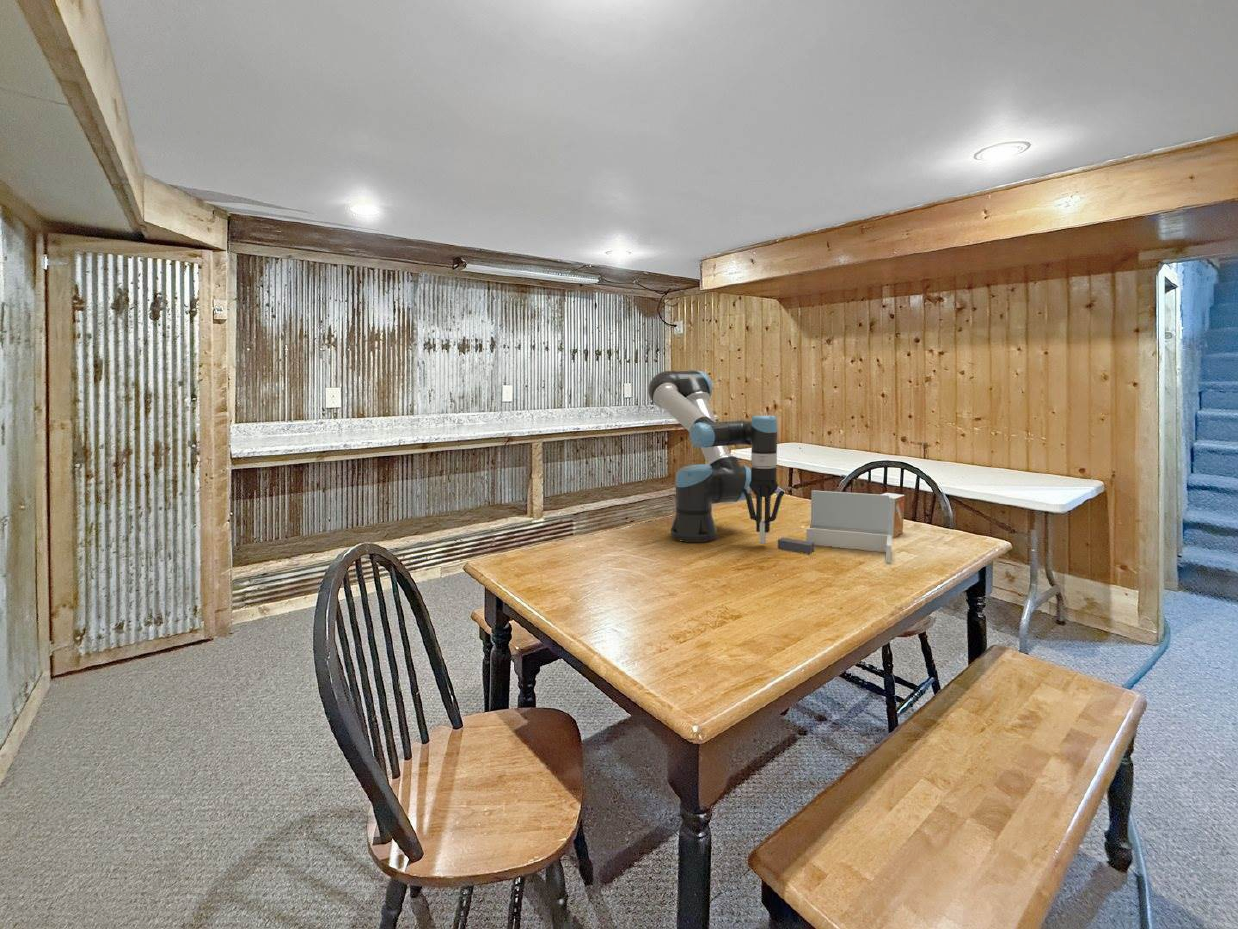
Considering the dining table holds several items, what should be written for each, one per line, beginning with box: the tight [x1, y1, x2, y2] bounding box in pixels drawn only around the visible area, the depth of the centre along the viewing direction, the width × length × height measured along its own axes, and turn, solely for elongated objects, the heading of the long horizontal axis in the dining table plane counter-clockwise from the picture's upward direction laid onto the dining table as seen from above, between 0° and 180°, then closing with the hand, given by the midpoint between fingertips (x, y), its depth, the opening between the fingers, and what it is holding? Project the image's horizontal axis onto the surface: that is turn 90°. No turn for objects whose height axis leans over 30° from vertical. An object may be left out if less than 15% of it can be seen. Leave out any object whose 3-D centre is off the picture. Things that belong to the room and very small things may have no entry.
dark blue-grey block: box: [777, 536, 815, 555], centre depth 177 cm, size 10×4×3 cm, turn 51°
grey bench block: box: [805, 527, 893, 564], centre depth 174 cm, size 24×14×5 cm, turn 65°
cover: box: [809, 490, 889, 535], centre depth 175 cm, size 22×12×1 cm
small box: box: [879, 492, 906, 539], centre depth 192 cm, size 8×6×13 cm
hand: (762, 542), depth 181 cm, fingers closed
